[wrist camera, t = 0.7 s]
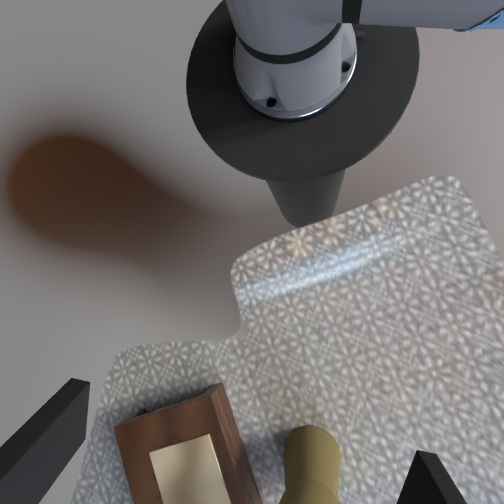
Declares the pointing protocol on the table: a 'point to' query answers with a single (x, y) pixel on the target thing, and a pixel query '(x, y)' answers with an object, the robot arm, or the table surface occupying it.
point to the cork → (311, 467)
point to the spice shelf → (186, 454)
